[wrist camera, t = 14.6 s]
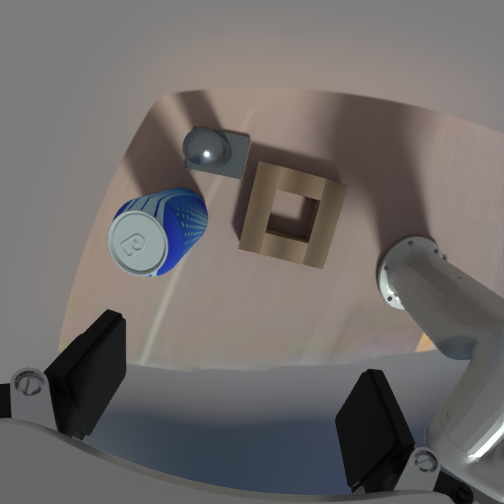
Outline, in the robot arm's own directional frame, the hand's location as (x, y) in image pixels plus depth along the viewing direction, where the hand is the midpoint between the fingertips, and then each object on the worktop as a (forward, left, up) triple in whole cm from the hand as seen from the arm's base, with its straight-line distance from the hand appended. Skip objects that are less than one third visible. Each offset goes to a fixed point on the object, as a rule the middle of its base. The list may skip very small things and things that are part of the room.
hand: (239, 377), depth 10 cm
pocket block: (-4, -2, -32) cm, 33 cm away
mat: (+8, -8, -32) cm, 34 cm away
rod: (+8, -8, -32) cm, 34 cm away
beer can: (+11, +2, -32) cm, 34 cm away
